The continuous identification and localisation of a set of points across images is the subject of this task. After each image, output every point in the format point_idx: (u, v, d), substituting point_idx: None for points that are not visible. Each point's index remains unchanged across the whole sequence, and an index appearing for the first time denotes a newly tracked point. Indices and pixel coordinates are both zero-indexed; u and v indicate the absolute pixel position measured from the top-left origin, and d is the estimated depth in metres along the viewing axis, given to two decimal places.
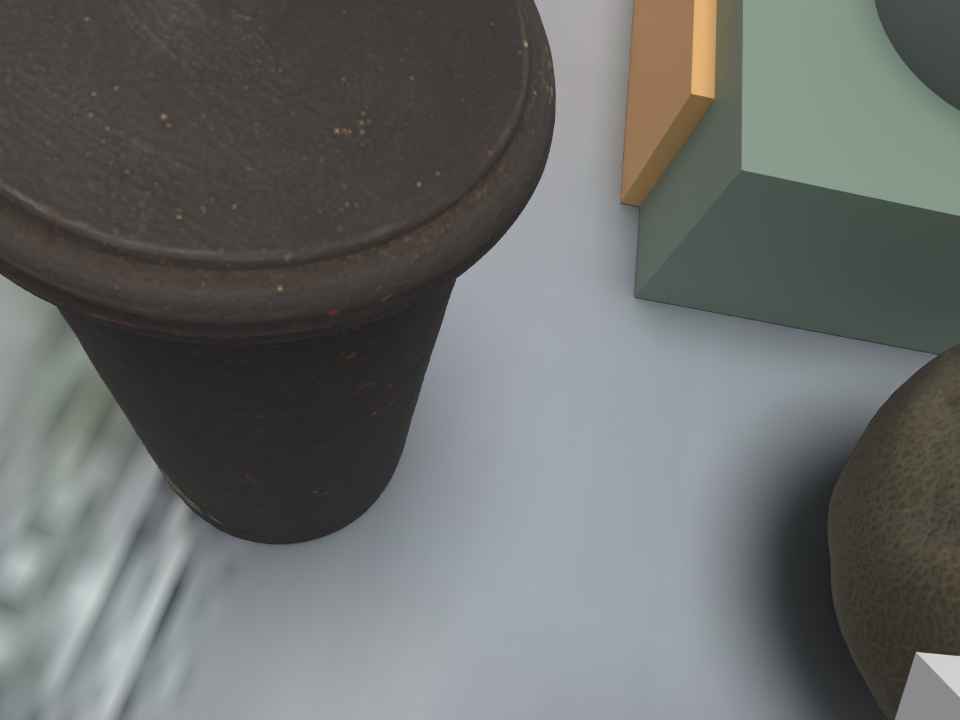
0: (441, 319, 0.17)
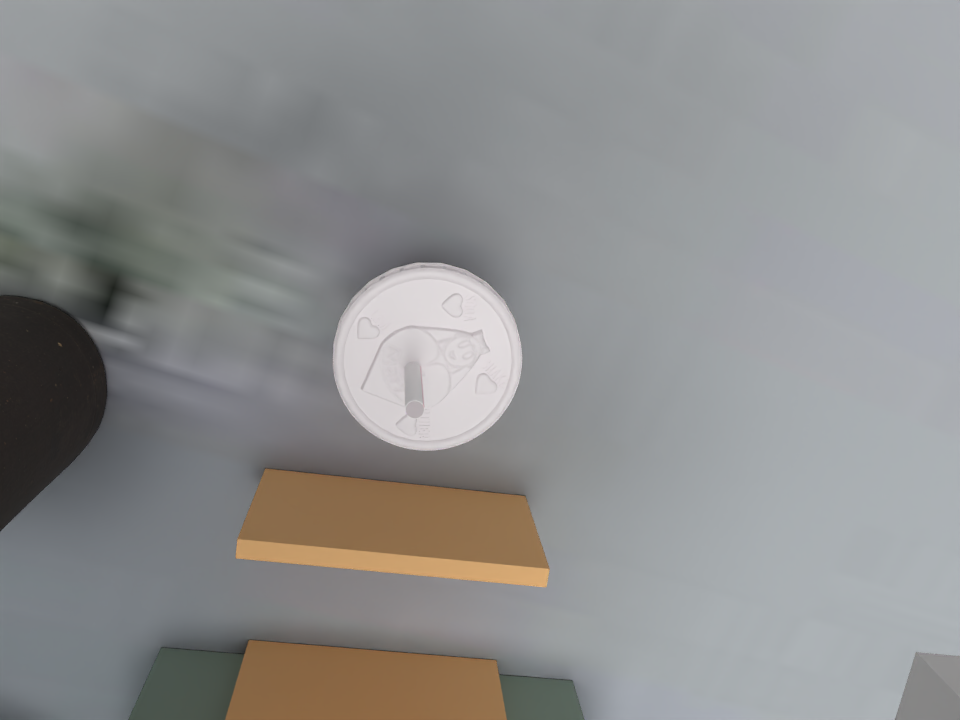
0: None
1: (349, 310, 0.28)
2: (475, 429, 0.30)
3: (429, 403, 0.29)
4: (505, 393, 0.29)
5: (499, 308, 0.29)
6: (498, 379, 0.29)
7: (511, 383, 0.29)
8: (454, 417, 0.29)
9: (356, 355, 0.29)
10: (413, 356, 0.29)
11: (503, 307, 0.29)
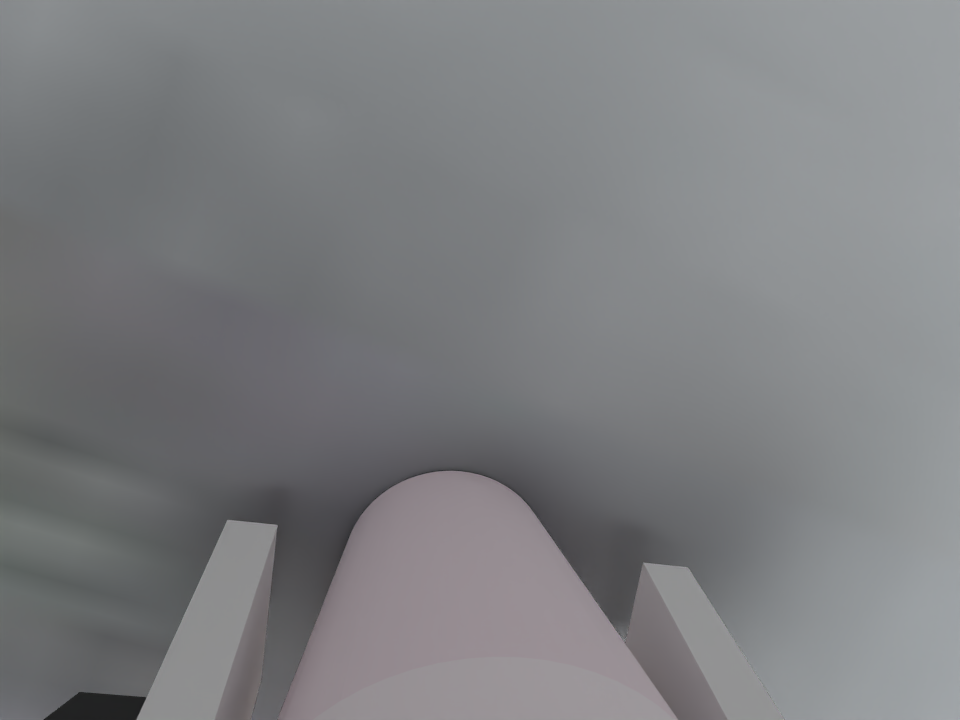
0: None
1: None
2: None
3: None
4: None
5: None
6: None
7: None
8: None
9: None
10: None
11: None
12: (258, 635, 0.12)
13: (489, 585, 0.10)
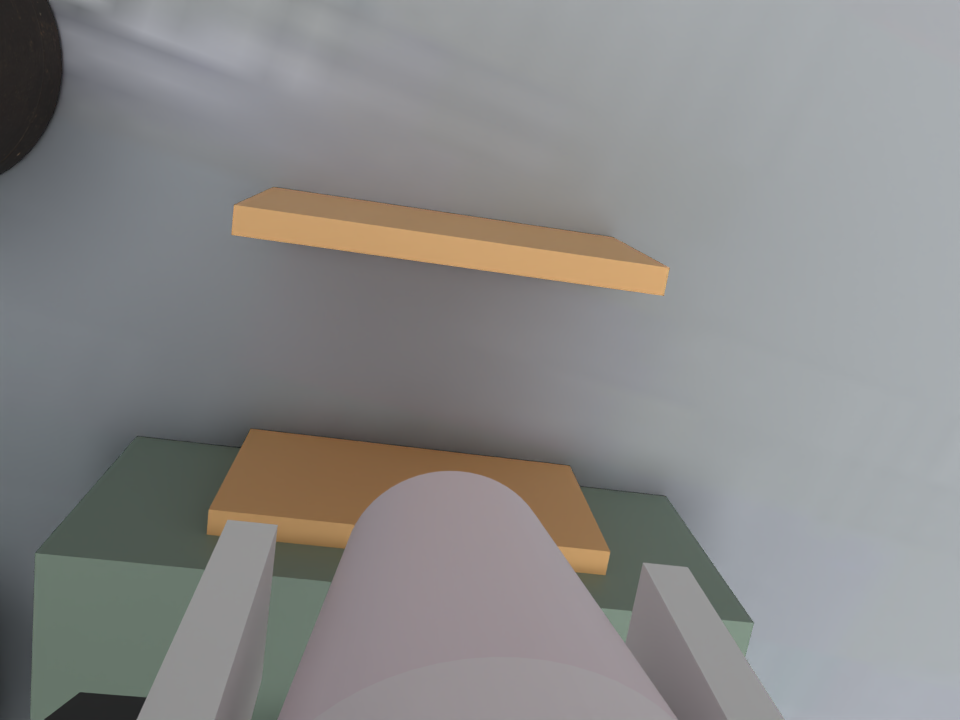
0: None
1: None
2: None
3: None
4: None
5: None
6: None
7: None
8: None
9: None
10: None
11: None
12: (258, 635, 0.12)
13: (489, 585, 0.10)
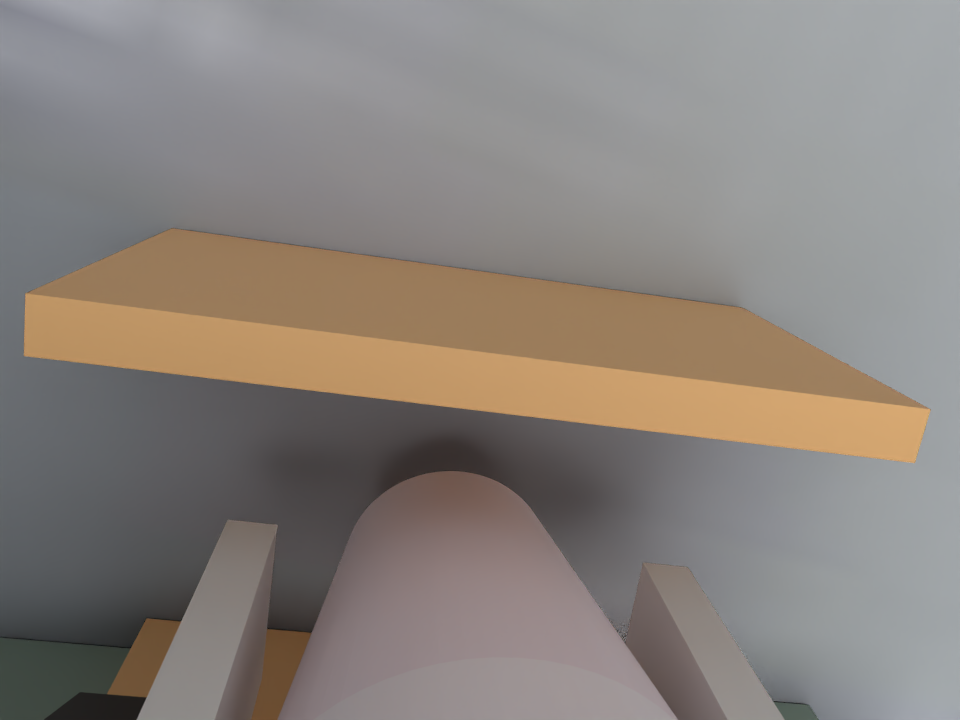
0: None
1: None
2: None
3: None
4: None
5: None
6: None
7: None
8: None
9: None
10: None
11: None
12: (258, 635, 0.12)
13: (489, 586, 0.10)
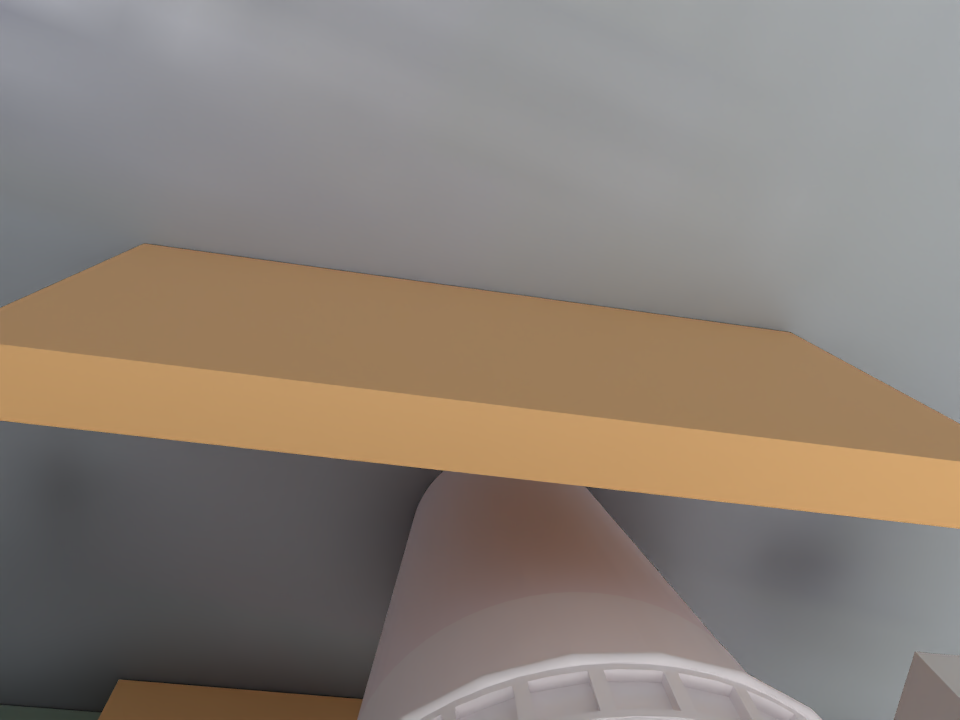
0: None
1: None
2: None
3: None
4: None
5: None
6: None
7: None
8: None
9: None
10: None
11: None
12: None
13: (561, 539, 0.12)
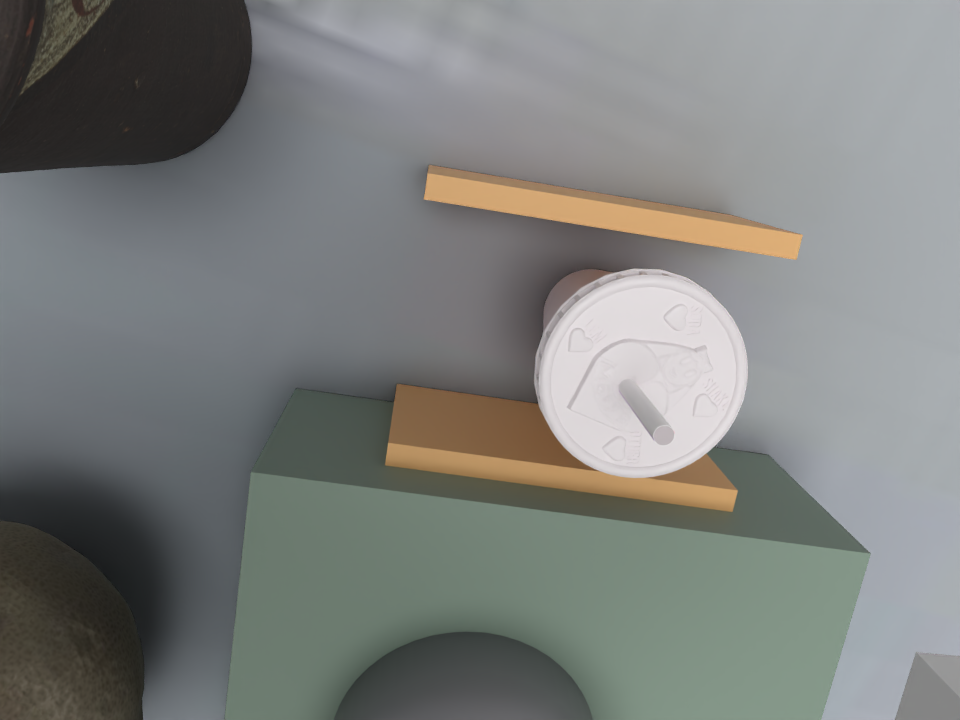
0: None
1: (562, 320, 0.25)
2: (689, 456, 0.27)
3: (643, 425, 0.26)
4: (725, 416, 0.26)
5: (727, 321, 0.26)
6: (718, 401, 0.26)
7: (733, 405, 0.26)
8: None
9: (565, 370, 0.26)
10: (629, 373, 0.26)
11: (732, 320, 0.26)
12: None
13: None
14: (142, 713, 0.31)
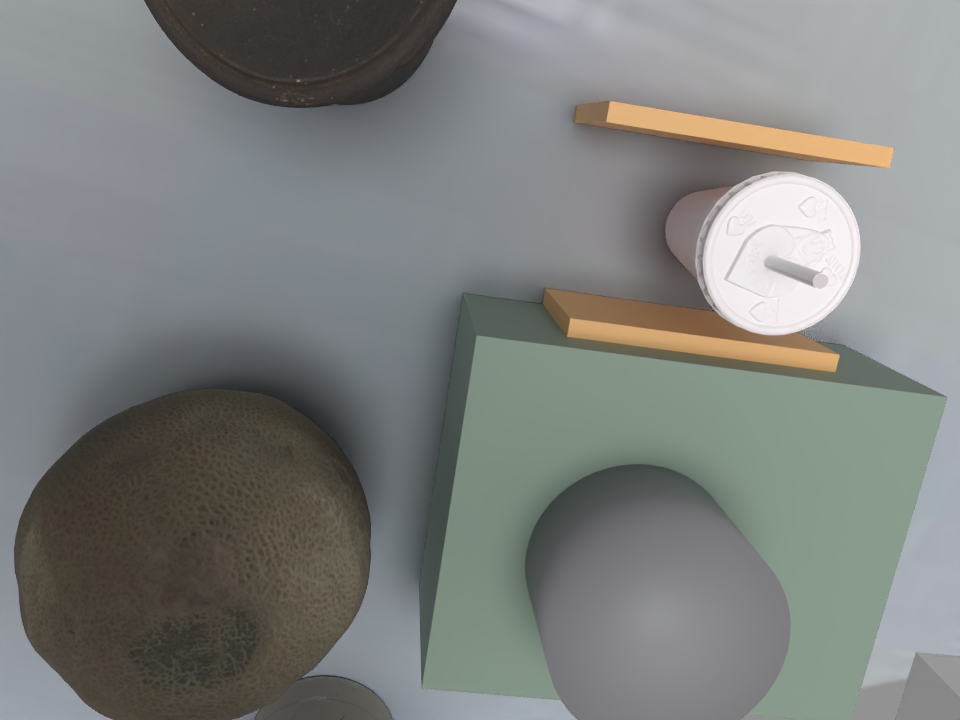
0: None
1: (722, 210, 0.33)
2: (815, 317, 0.34)
3: (782, 292, 0.34)
4: (842, 285, 0.34)
5: (846, 210, 0.33)
6: (837, 273, 0.34)
7: (848, 277, 0.34)
8: (798, 306, 0.34)
9: (723, 249, 0.34)
10: (773, 250, 0.33)
11: (850, 209, 0.33)
12: None
13: None
14: None
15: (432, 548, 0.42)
